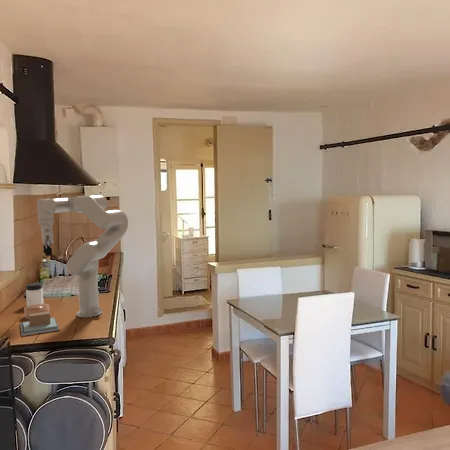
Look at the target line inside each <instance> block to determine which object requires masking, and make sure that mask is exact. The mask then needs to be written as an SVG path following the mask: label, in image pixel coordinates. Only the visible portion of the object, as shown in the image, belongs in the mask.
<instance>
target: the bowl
mask: <svg viewBox="0 0 450 450" xmlns="http://www.w3.org/2000/svg"><path fill="white" fill-rule="evenodd" d="M23 311H24V313H23V315H24V320H28V319H29V314H33V313H40V312H48V311H49V313H50V312H51V311H50V304H48V303H44V304H33V305H29V306H27V305H26V306H25V307H23ZM50 314H51V313H50Z"/></svg>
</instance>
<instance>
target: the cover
mask: <svg viewBox="0 0 450 450" xmlns="http://www.w3.org/2000/svg"><path fill="white" fill-rule="evenodd" d="M54 318H55V317H51V313H49V311H48V312H40V313H33V314H29V320H27V321H23V322H22V323H23V326H24V332H25V333H28V332H35V331H41V330H48V329H54V328H57V325H58V323H57V324H56V322H57V321H56V322H55V320H56V318H55V319H54Z"/></svg>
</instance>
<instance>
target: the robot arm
mask: <svg viewBox="0 0 450 450" xmlns="http://www.w3.org/2000/svg"><path fill="white" fill-rule="evenodd" d="M36 206H37V207H36V208H37V220H38V222H37V223H38V226H40V233H41V240H42V244H43V253H44V254H45V256H46V257H50V256H52V255H53V248H52V245H53V244H54V243H55V241H54V233H53V225H54V214H59V213H67V212H71V213H72V212H76V213H79V214H84V215H85V216H86V217H87V218H88V219H90V221H92V222H93V223H94V225H95V226H97V227H99V228H100V229H102V230H103V229H104V231H103V232H102V233H101V234H100V236H99V237H98V238H96V239H95V240H92V241H88V242H85V243H83V244H82V245H80V246H79V247H78V249H76V251H75V252H74V253H73V254H72V255H71V256H70V258H69V259H68V260H67V262H66V265H65V267H66V271H67V273H68V274H69V275H71V276H74V277H77V276H78V280H77V283H78V285H77V286H78V287H77V288H78V300H79V301H78V305H79V311H77V312H76V316H77V317H78V318H93V316H94V317H97V315H98V316H100V315H102V314H103V309H102V308H101V307H100V304H99V288H98V287H99V286H98V284H99V283H98V273H99V272H98V271H99V264H100V263H99V260H101V259H104V258H105V257H106V256H107V254H108V253H110V251H111V250H112V249H113V248H114V247H116V244H118V243H119V242H120V241H121V239H122V238H123V237H124V236H125V234H126V233H127V230H128V227H129V218H128V216H127V214H126V213H125V212H124V211H122V210H120V209H111V210H106V209H107V207H108V200H107V199H106V197H105V196H103V195H100V194H93V195H92V194H91V195H77V196H74V197H58V198H57V197H56V198H39V199H37V201H36Z"/></svg>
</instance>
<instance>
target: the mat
mask: <svg viewBox="0 0 450 450" xmlns="http://www.w3.org/2000/svg"><path fill="white" fill-rule="evenodd" d="M53 318H54V319H55V322H56V324H57V328H54V329H48V330H41V331H35V332H28V333H25V332H24V326H23V322H19V328H21V329H20V333H21V337H22V336H24V337H26V336H25V335H31V334H37V333H43V334H46V333H45V332H50V333H53V332H52V331H56V332H58V331H57V330H59V331H60V328H59V325H58V323H57V320H56V318H55V317H53ZM37 335H38V334H37ZM31 336H32V335H31Z"/></svg>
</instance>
